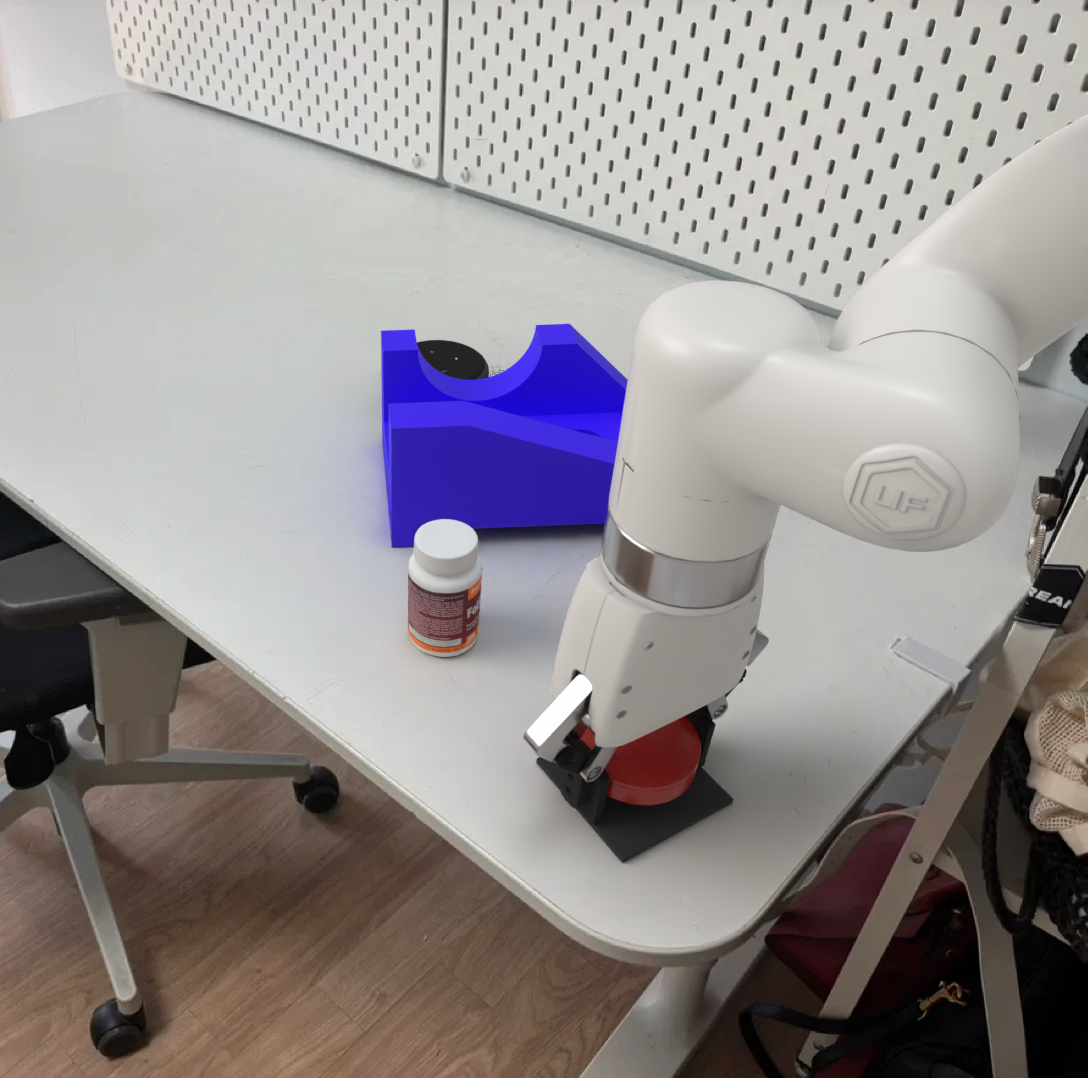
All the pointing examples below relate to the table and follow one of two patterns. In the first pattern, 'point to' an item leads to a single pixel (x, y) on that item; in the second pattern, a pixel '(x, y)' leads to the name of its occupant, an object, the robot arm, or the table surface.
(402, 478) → the bracket
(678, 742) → the jar lid
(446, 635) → the pill bottle
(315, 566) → the table surface
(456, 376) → the smart speaker
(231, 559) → the table surface
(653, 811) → the mat
